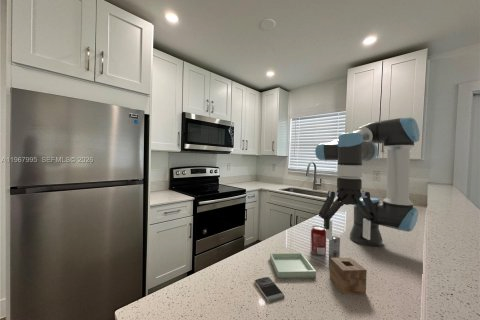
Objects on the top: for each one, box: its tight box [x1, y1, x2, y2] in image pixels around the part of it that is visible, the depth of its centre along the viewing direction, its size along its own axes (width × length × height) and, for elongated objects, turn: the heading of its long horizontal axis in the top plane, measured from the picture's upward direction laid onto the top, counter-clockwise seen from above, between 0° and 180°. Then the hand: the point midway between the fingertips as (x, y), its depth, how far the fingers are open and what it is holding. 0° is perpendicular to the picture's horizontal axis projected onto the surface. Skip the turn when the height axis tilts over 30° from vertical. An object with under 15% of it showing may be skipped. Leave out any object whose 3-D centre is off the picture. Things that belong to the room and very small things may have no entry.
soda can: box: [310, 225, 327, 256], centre depth 92 cm, size 7×7×12 cm
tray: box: [269, 252, 317, 280], centre depth 79 cm, size 14×14×2 cm
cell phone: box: [253, 276, 285, 304], centre depth 65 cm, size 6×11×1 cm, turn 21°
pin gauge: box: [328, 235, 341, 268], centre depth 80 cm, size 4×4×12 cm
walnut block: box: [329, 257, 367, 295], centre depth 68 cm, size 8×8×8 cm
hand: (347, 238), depth 68 cm, fingers open, 13 cm apart
